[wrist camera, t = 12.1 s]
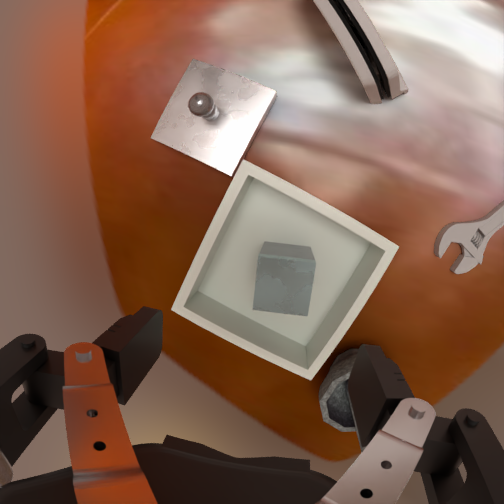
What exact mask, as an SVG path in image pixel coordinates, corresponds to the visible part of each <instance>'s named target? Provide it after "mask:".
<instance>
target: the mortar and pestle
mask: <svg viewBox="0 0 504 504" xmlns="http://www.w3.org/2000/svg"><path fill="white" fill-rule="evenodd" d="M358 350H359V349H349V350H347V351H345V352H344V353H342V354H340V355H338V356H337V357H336V359H335V360H334V362H333V364H332V366H331V367H330V371H329V373H328V374H327V376H326V378H325V379H324V381H323V383H322V384H321V386H320V390H319V402H320V406H321V411H322V416H323V420H324V421H325V422H326V423H328V424H330V425H331V426H333V427H335V428H337V429H338V430H340V431H357V435H358V439H359V444H360V448H361V452H363V451H364V449H365V448H366V447H362V446H361V442H360V437H359V433H358V429H357V424H356V420H355V416H354V412H353V408H352V404H351V400H350V396H349V392H348V380H349V376H350V373H351V371H352V368H353V365H354V362H355V359H356V356H357V353H358Z"/></svg>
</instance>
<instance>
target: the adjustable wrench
mask: <svg viewBox="0 0 504 504" xmlns="http://www.w3.org/2000/svg"><path fill="white" fill-rule="evenodd" d="M503 225H504V201H502V202H501V203H500V204H499V205H498V206H497V207H495V208H494V209H493V210H492V211H491V212H489V213H488V214H487V215H486V216H484V217H483V218H481V219H478V220H474V221H468V222H453V223H450V224H448V225H446V226H445V227H443V228H442V230H441V231H440V232H439V234H438V236H437V238H436V241H435V245H434V253H435V255H436V256H438V257H439V258H441V257H442V255H443V254H444V252H445V251H446V249H447V248H448V246H449V245H450V243H451V242H456V243H458V244H459V245H460V246H461V248H462V254H459V256H458V258H457V259H456V261H455V262H454V264H453V265H452V266H451V268H450V270H451V271H452V272H454V273H456V274H462V273H465V272H468V271H470V270H471V269H472V268H474V267H475V266H476V265H477V264H481V263H482V259H483V253H484V250H485V247H486V245H487V243H488V241H489V239H490V238H491V236H492V235H493V234H494V233H495V232H496V231H497V230H498V229H500V228H501V227H502V226H503ZM477 230H478V231H477Z"/></svg>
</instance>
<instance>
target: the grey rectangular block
mask: <svg viewBox="0 0 504 504" xmlns="http://www.w3.org/2000/svg"><path fill="white" fill-rule="evenodd" d="M315 268H316V261H315V258H314V255H313V252H312V250H311V247H308V246H300V245H292V244H283V243H275V242H267V241H265V242H264V244H263V246H262V248H261V251H260V253H259V255H258V262H257V272H256V281H255V291H254V300H253V310H258V311H266V312H274V313H282V314H290V315H299V316H308V311H309V305H310V299H311V293H312V287H313V281H314V274H315Z"/></svg>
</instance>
